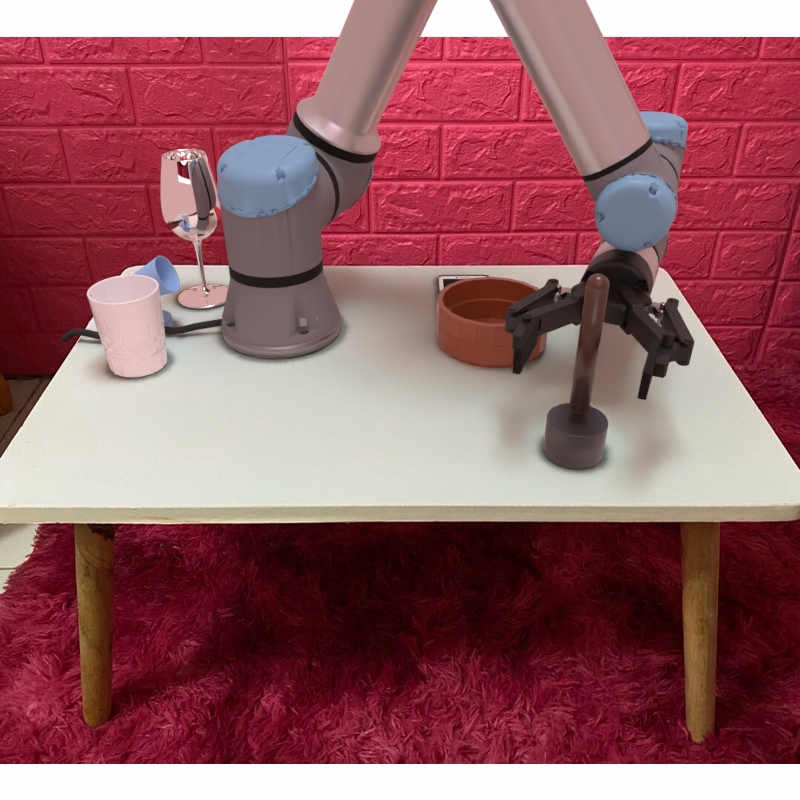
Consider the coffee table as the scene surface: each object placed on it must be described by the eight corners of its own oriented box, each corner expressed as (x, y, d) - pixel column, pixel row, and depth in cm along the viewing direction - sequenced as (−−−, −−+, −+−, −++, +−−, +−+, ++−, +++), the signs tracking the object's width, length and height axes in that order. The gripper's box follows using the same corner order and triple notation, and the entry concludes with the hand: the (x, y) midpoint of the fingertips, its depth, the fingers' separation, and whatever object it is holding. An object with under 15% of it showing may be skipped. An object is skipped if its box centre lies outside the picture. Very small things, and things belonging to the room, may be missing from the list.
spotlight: (190, 320, 103) (139, 319, 104) (178, 249, 98) (125, 248, 98) (179, 337, 99) (127, 336, 99) (167, 265, 94) (111, 264, 94)
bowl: (426, 363, 94) (427, 319, 90) (446, 313, 105) (447, 272, 102) (541, 376, 91) (546, 331, 88) (548, 323, 102) (553, 282, 99)
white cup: (154, 384, 90) (138, 306, 84) (92, 377, 91) (72, 300, 86) (183, 351, 96) (170, 277, 91) (125, 345, 97) (109, 271, 92)
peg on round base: (541, 464, 77) (563, 285, 66) (544, 430, 82) (566, 258, 71) (602, 473, 76) (635, 291, 65) (602, 438, 81) (633, 264, 70)
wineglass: (192, 315, 105) (168, 167, 94) (168, 295, 110) (142, 153, 99) (243, 299, 109) (226, 155, 98) (217, 281, 114) (198, 143, 103)
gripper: (721, 327, 85) (705, 436, 68) (515, 293, 92) (455, 383, 75) (737, 264, 81) (725, 362, 64) (520, 233, 88) (458, 313, 71)
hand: (578, 373), depth 69 cm, fingers open, 11 cm apart
